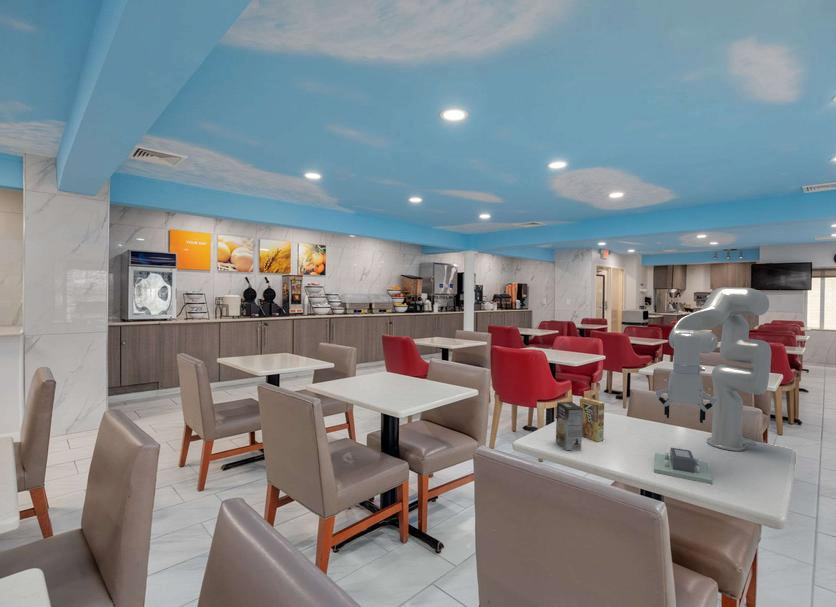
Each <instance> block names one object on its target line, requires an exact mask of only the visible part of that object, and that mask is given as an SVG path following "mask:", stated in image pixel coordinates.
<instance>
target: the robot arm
mask: <svg viewBox="0 0 836 607" xmlns="http://www.w3.org/2000/svg"><path fill="white" fill-rule="evenodd" d="M769 309H770V299H769V297H768V296H767V294H766V293H764V292H762V291H760V290H759V289H758V290H757V289H755V288H752V287H751V288H750V287H735V286H733V287H728V286H727V287H726V286H725V287H724V286H722V287H718V288H715V289H714V290H712V292H711V293H710V294H709V296H708V297H707V299H706V301H705V302H704V304H703V305H702V307H701V309H699V310H697V311H696V310H695V311H694V312H692V313H689V314H688V315H686V316H683V317H682V318H680V319H679V320H678V321H677V322H676V323H675V325H674V326H673V327H672V329H671V330H670V332H669V336H668V344H669V346H670V348H672V349H673V364H672V365H673V367H672V370H670V373H669V377H668V385H667V387H666V388H663V389H659V390H656V391H655V395H656V396H657V399H658V401H660V402H661V403H662V405H663V406H664V411H663V412H664V415H665V416H666V419H669V418H670V404H671V403H676V404H677V403H679V404H686V405H687V404H688V405H695V406H698V407H699V408H700V409H699V423H700V424H703V422H704V421H706V414H707V413H706V412H707V411H708V410H710V409H711V408H712V418H711V419H712V424H711V436H709V437H707V438H706V443H707V444H708V445H710V446H713V447H715V448H718V449H721V450H726V451H733V452H741V451H742V452H743V451H746V449H747V445H748V446H752V447H757V446H758V445H757V444H758V442H757V440H752V439H751V438H745V437H744V436H743V434H742V433H743V432H742V431H743V429H742V428H743V415H744V414H743V413H744V401H743V398H742V397H741V395H740V394H739V392H740V393H746V394H752V395H763V394H765V393H766V392H767V389H768V386H769V379H770V370H771V363H772V348H771V345H770V344H769V343H768V342H767V341H765V340H761V339H752V338H749V337H750V336H749V333H750V324H749V322H748V320H746V319H745V317H744V316H743V315H745V316H747V315H748V316H763V315H765V314H766V313H767V312H768V310H769ZM721 326H722V330H721V336H720V337H721V338H720V346H719V356H720V358H721V359H722V360H724V361H726V362H731V363H738V364H746V365H751V366H752V367H746V366H740V365H733V364H718V365H716V366H714V367H713V369H712V371H711V381H712V387H713V388H712V390H713V395H711V394H709V393H707V392H705V391H704V381H703V375H702V372H705V370H706V369H705V367H703V366H701V365H700V364H701V354H710V353H713V352H714V351H715V350H716V349H717V348H718V344H719V341H718V338H717V335H716V334H714V333H713V332H711V331H705V330H709V329H714V328H718V327H721ZM666 393H667V398H666V399H665V398H664V397H663V394H666ZM704 398H706V399H707V400H709V402H707V403H705V404H704Z"/></svg>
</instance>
